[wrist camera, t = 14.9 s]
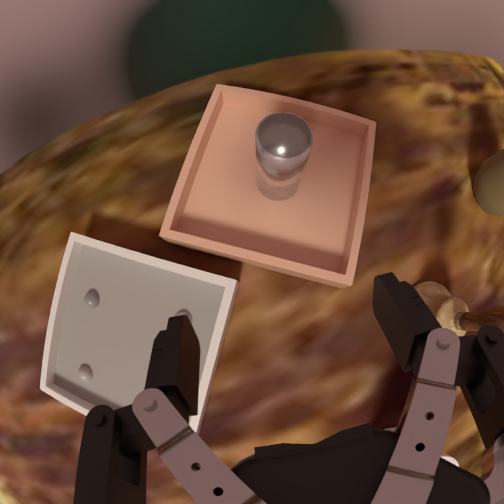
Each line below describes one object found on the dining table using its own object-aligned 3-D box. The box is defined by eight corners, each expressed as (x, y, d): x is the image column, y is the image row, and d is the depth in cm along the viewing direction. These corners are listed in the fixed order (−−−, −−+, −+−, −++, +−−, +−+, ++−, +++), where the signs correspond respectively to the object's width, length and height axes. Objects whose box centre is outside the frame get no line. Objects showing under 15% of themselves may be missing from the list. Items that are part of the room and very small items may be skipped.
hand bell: (431, 368, 28) (531, 397, 12) (382, 330, 29) (481, 346, 13) (465, 307, 29) (567, 300, 13) (420, 266, 30) (523, 235, 14)
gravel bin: (56, 383, 28) (39, 389, 25) (87, 238, 31) (71, 231, 27) (196, 443, 27) (189, 458, 23) (239, 282, 30) (236, 280, 26)
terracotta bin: (169, 243, 31) (159, 235, 27) (220, 102, 33) (216, 84, 30) (341, 288, 30) (351, 285, 26) (366, 137, 32) (376, 121, 29)
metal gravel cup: (251, 195, 30) (248, 152, 21) (262, 157, 31) (263, 106, 22) (294, 205, 30) (308, 165, 21) (303, 167, 31) (318, 118, 22)
